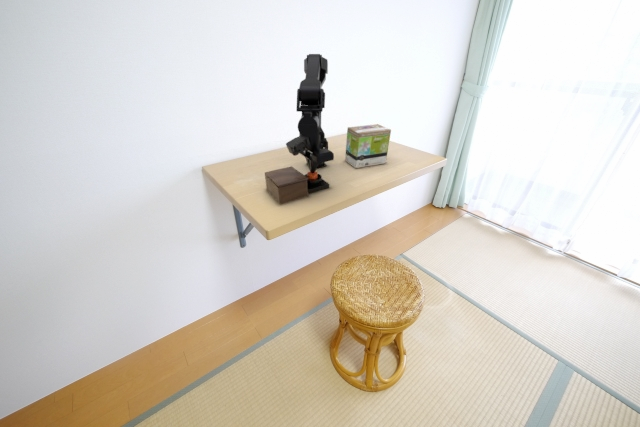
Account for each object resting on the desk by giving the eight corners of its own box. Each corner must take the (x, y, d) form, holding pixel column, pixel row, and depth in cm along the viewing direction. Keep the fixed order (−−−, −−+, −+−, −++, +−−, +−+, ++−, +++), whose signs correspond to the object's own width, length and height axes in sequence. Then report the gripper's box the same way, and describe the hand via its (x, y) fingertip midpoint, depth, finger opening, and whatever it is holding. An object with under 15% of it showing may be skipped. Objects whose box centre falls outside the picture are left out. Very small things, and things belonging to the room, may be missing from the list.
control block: (296, 182, 96) (296, 174, 94) (315, 178, 100) (315, 169, 98) (309, 193, 89) (309, 184, 87) (329, 188, 92) (329, 179, 91)
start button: (305, 177, 93) (305, 172, 92) (314, 174, 95) (314, 170, 94) (310, 180, 91) (310, 176, 90) (319, 178, 92) (319, 173, 91)
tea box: (356, 169, 106) (359, 133, 98) (344, 161, 114) (346, 126, 106) (386, 163, 111) (391, 128, 103) (373, 156, 119) (377, 122, 111)
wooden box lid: (308, 179, 83) (308, 177, 83) (278, 187, 79) (278, 185, 79) (291, 167, 93) (291, 166, 92) (264, 174, 88) (264, 172, 88)
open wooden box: (307, 196, 87) (307, 180, 84) (279, 204, 83) (278, 187, 80) (292, 183, 96) (291, 168, 93) (266, 190, 92) (264, 174, 88)
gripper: (276, 124, 86) (280, 168, 95) (302, 139, 73) (304, 188, 82) (306, 120, 91) (307, 162, 100) (335, 133, 78) (334, 180, 86)
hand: (312, 172), depth 92 cm, fingers closed
